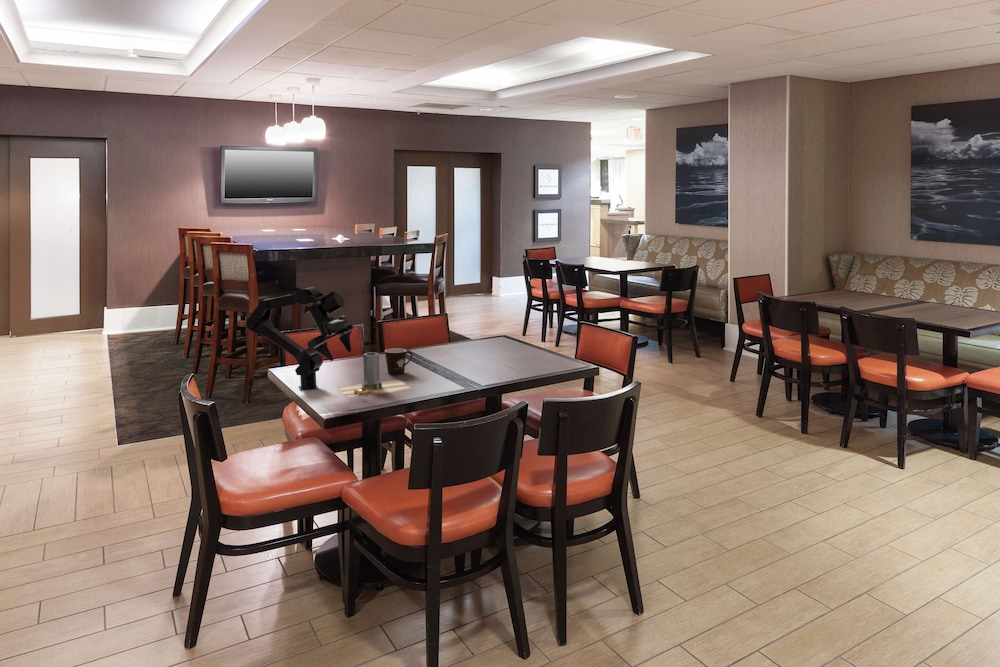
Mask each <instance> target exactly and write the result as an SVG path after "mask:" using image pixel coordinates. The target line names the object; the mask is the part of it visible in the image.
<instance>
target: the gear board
mask: <svg viewBox="0 0 1000 667" xmlns="http://www.w3.org/2000/svg"><path fill="white" fill-rule="evenodd" d="M381 383H382V388H379V389H378V390H376V389H374V390H372V393H371V394H367V395H366V396H372V395H380V394H390V393H400V392H408V391H413V388H412V387H410V386H409V385H408V384H406V383H405V382H404V381H403V380H401V379H399V380H389V381H388V380H387V381H381ZM361 387H362V383H360V384H359V383H358V384H351V385H341V386H337V388H338V389H339V391H340V392H341V393H342V395H343V396H344V397H345V398H354V397H361V396H364V397H365V395H357V394H354V390H355V389H358V388H361Z"/></svg>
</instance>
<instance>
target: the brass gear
mask: <svg viewBox="0 0 1000 667" xmlns="http://www.w3.org/2000/svg"><path fill="white" fill-rule="evenodd" d="M371 393H372V388H371V389H369V388H368V387H366V388H364V387H363V388H362V387H361V388H358V389H355V390H354V394H357V395H364V396H368V395H367V394H371Z"/></svg>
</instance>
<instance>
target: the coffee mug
mask: <svg viewBox="0 0 1000 667" xmlns="http://www.w3.org/2000/svg"><path fill="white" fill-rule="evenodd" d="M407 354H410V358H409V359H408V360H407V362H406V358H407ZM384 356H385V360H386V361H385V362H386V369H387V374H388V375H389V376H401V375H404V374H405V371H406V370H405V367H406V366H407V365H408V363H410V362H411V360H412V358H413V353H412V352H411V351H407V349H406V348H388V349H385V350H384Z"/></svg>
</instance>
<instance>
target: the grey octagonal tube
mask: <svg viewBox="0 0 1000 667" xmlns="http://www.w3.org/2000/svg"><path fill="white" fill-rule="evenodd" d="M379 354H380V353H378V352H373V351H371V352H365V353H363V355H362V356H363V358H362V359H363V382H361V384H362V388H363V387H364V388H366V387H368V388H369V389H371V388H372V390H374V389H376V390H378V389H379V388H382V383H381V382H382V381H381V380H380V379H381V378H380V355H379Z"/></svg>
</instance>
